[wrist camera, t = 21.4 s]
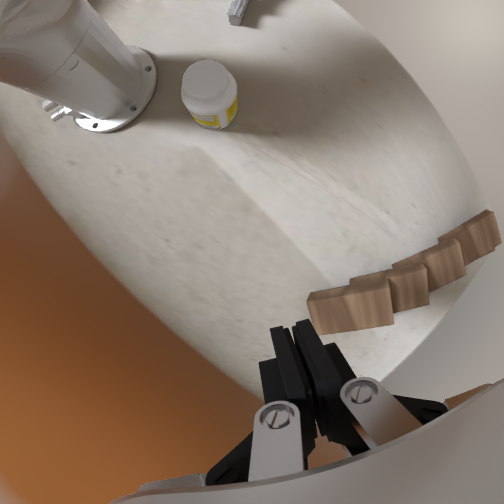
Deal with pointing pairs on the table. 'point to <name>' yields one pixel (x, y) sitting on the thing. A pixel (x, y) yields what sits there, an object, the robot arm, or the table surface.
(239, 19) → the garden wall model
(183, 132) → the table surface
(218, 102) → the supplement bottle
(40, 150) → the table surface
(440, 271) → the domino
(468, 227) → the domino
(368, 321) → the domino
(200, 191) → the table surface
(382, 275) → the domino
